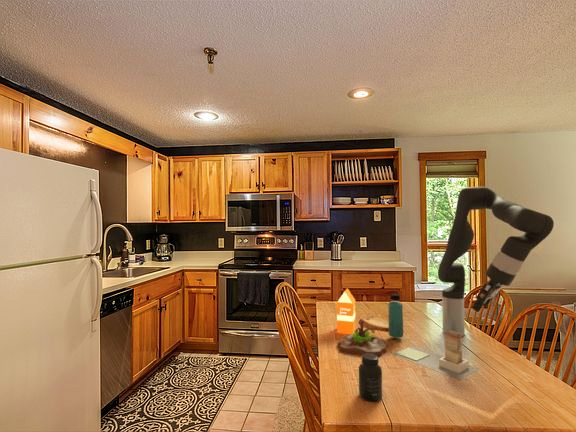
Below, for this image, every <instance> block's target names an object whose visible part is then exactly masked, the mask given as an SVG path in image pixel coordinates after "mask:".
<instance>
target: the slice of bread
mask: <svg viewBox="0 0 576 432" xmlns="http://www.w3.org/2000/svg"><path fill="white" fill-rule="evenodd" d="M361 320H364V321H365V322H364V323H363V327H365V328H367V329H368V328H372V329H374V330H377V331H385V332H389V329H388V327H389V326H388V325H389V319H385V318H382V317H377V316H375V315H369V316H368V315H367V316H365V317H362V318H360V319H359V320H358V322H359V325H361Z"/></svg>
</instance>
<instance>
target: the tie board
mask: <svg viewBox="0 0 576 432" xmlns="http://www.w3.org/2000/svg"><path fill="white" fill-rule="evenodd" d="M392 355H395V356H396V357H398V358H400V359H404V360H407V361H410V362H412V363H415V364H417V365H420V366H422V367H425V368H428V369H430V370H433V371H436V372H438V373H440V374H443V375H446V376H449V377H450V378H453V379H456V380H459V381H461V380H463V379H465V378H466V377H467V376H469V375H471V374H473V373H475V372H477V371H478V370H479V369H480V367H476V366H473V365H471V364H469V360H468V359H464V358H462V362H461V363H459V364H455V363H452V362H449V361H446V360H445V355H444V356H443V355H440V354H438V353H435V352H432V351H429V350H426V349H423V348H419V347H418V346H414V345H412V346H411V345H410V346H408V347H407V348H403V349H401V350H399V351H396V352H393V353H392Z"/></svg>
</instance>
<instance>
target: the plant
mask: <svg viewBox="0 0 576 432" xmlns="http://www.w3.org/2000/svg"><path fill="white" fill-rule="evenodd" d="M364 322H365V321H364V320H361V324H360V327H357V328H355V330H354V332H353V334H346V335H344V336H342V338H341V339H338V341H337V347H338V350H339V351H340V352H342V353H344V354H350V355H358V356H362V355H363V354H367V353H370V354H375V355H377V356H378V357H382V355H383V354H386V353H387V344H386V343H387V342H386V339H383V338H381V337H379V336H375V335H374V334H375V332H376V331H375V330H376V329H372V328H368V327H367V328H366V329H364V326H363V323H364ZM370 330H371V332H370ZM371 333H372V335H371Z"/></svg>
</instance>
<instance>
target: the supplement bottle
mask: <svg viewBox="0 0 576 432" xmlns="http://www.w3.org/2000/svg"><path fill="white" fill-rule="evenodd" d="M379 363H380V362H379V356H377V355H375V354H370V353H367V354H363V355H361V363H360V364H359V366H358V394H359V396H360V398H361V399H362V400H364V401H366V402H370V403H371V402H372V403H376V402H379V401H380V400H382V398H383V369H382V367H381V365H380V364H379Z"/></svg>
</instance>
